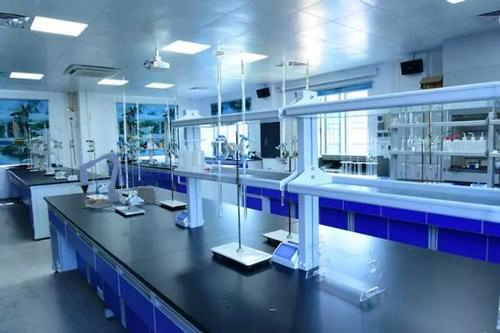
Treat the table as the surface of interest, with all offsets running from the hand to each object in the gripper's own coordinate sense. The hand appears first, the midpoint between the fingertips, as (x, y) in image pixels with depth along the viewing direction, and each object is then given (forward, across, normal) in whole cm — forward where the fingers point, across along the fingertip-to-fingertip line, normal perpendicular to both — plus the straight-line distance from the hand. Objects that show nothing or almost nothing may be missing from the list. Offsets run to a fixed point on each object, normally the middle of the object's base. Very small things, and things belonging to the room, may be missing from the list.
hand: (85, 193), depth 298 cm
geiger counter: (+9, +32, -39) cm, 52 cm away
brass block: (+8, +3, -21) cm, 22 cm away
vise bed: (+9, +3, -20) cm, 22 cm away
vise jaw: (+7, +1, -9) cm, 12 cm away
